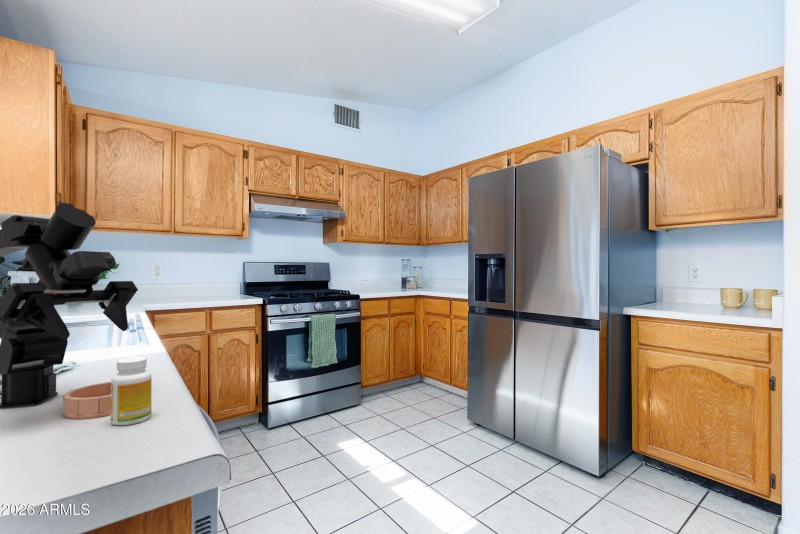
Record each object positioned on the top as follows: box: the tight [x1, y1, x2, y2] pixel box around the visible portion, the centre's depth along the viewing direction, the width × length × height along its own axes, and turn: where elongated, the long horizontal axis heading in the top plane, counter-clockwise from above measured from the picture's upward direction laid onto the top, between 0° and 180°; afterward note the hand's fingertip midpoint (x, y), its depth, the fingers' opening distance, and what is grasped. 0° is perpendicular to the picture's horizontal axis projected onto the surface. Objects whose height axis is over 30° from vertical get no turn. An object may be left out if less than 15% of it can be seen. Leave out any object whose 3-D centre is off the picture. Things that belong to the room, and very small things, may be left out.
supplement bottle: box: [110, 356, 152, 426], centre depth 62 cm, size 5×5×10 cm
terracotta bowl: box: [62, 381, 111, 420], centre depth 68 cm, size 11×11×3 cm
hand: (98, 333), depth 65 cm, fingers open, 9 cm apart
